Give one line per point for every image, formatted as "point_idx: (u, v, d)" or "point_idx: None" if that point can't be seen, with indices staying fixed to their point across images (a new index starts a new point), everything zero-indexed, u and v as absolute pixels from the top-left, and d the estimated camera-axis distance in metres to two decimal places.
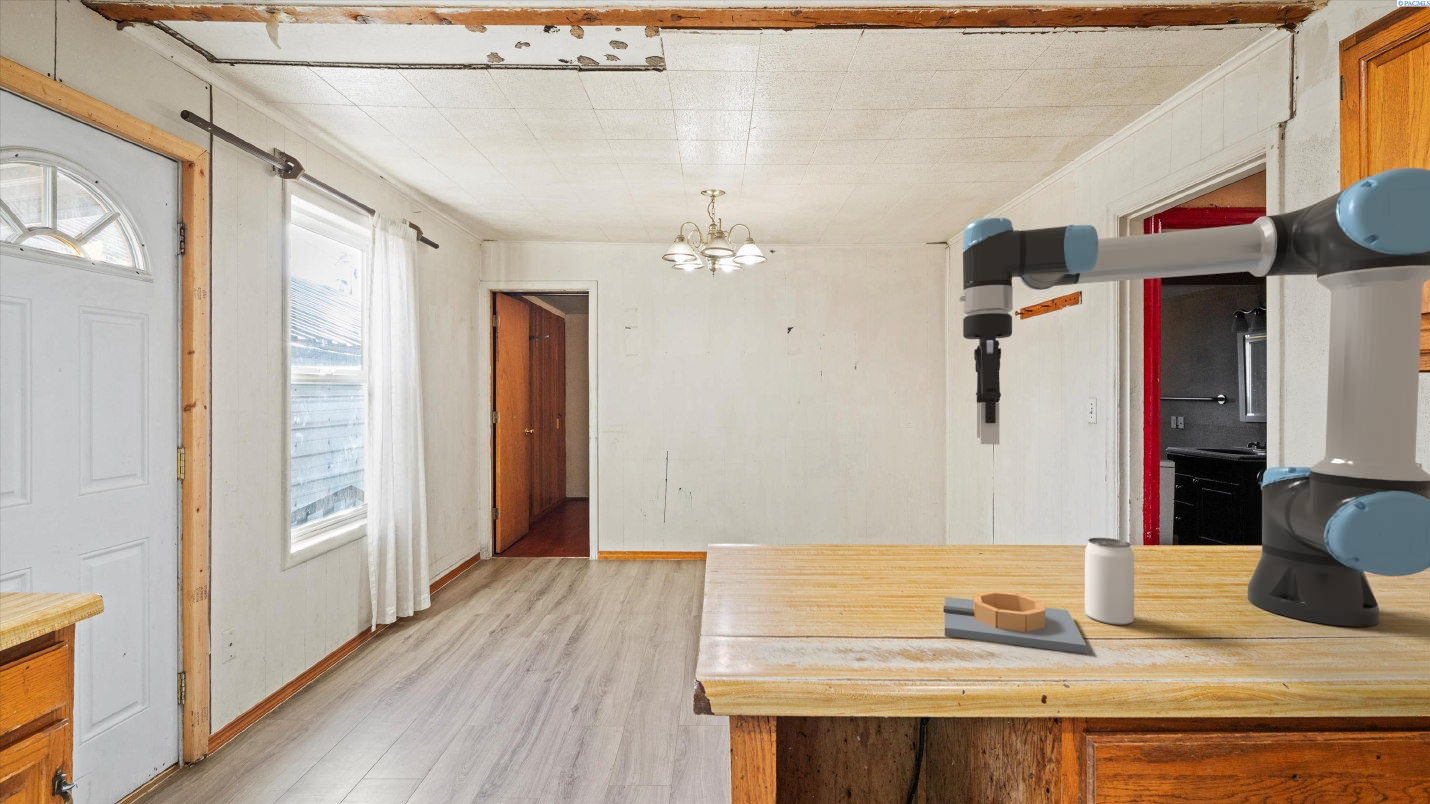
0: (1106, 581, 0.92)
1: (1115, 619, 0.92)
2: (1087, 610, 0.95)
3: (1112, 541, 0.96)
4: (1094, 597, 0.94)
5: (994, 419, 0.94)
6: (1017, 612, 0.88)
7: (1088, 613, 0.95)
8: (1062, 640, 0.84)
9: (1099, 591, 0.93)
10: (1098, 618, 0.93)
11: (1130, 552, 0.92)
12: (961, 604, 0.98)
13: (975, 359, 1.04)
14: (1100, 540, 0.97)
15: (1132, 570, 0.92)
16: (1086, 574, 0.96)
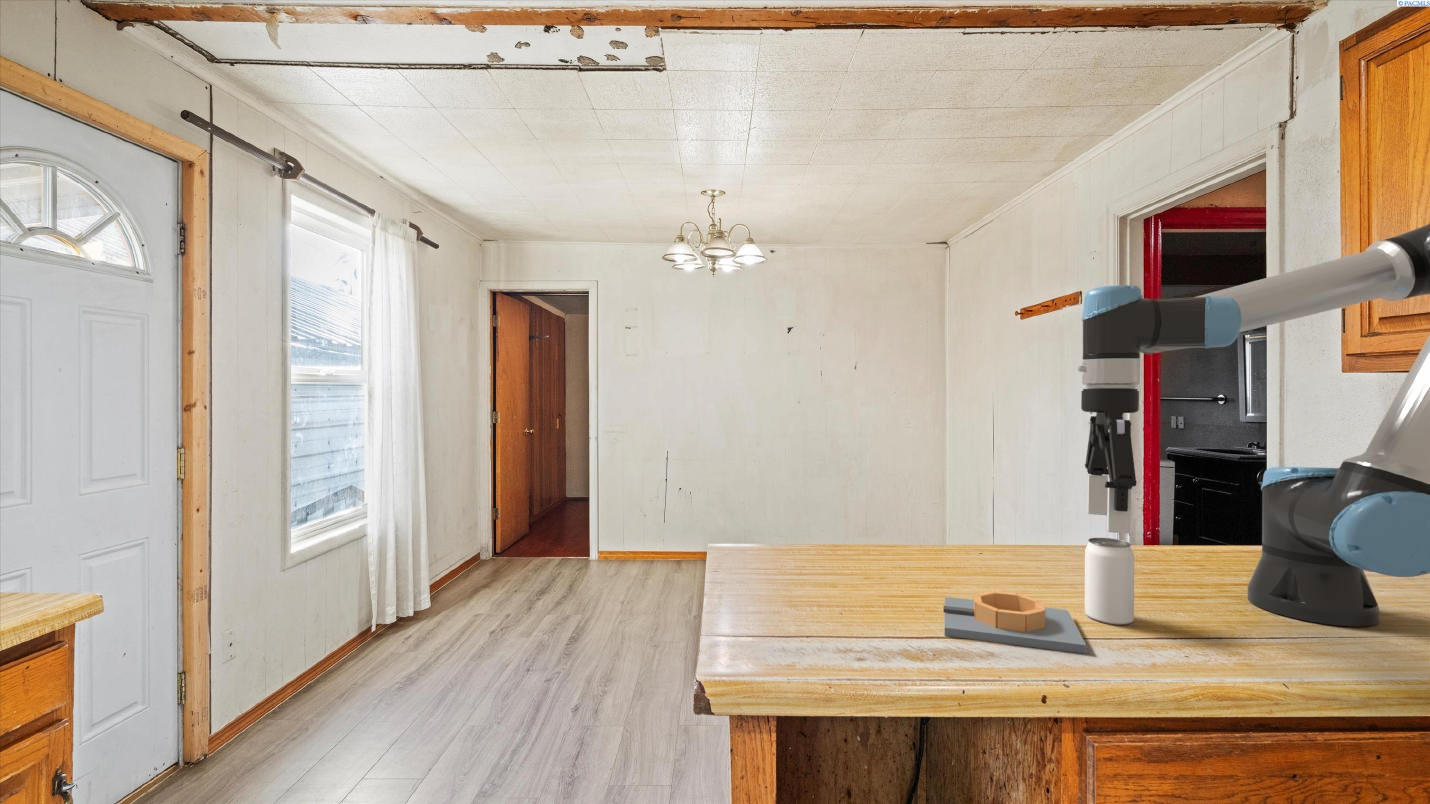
0: (1106, 581, 0.92)
1: (1115, 619, 0.92)
2: (1087, 610, 0.95)
3: (1112, 541, 0.96)
4: (1094, 597, 0.94)
5: (1126, 507, 0.87)
6: (1017, 612, 0.88)
7: (1088, 613, 0.95)
8: (1062, 640, 0.84)
9: (1099, 591, 0.93)
10: (1098, 618, 0.93)
11: (1130, 552, 0.92)
12: (961, 604, 0.98)
13: (1093, 433, 0.96)
14: (1100, 540, 0.97)
15: (1132, 570, 0.92)
16: (1086, 574, 0.96)
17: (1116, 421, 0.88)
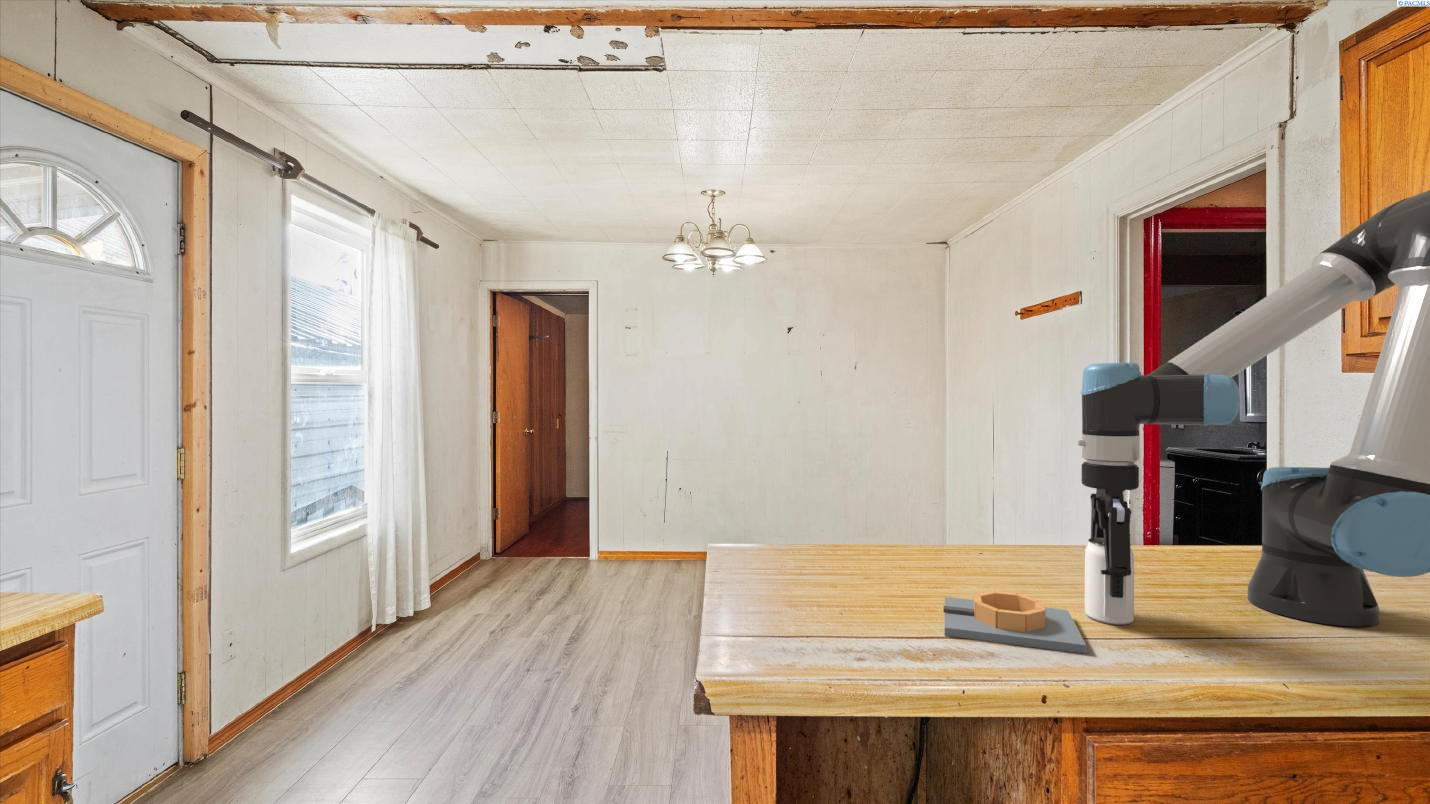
0: None
1: (1115, 619, 0.92)
2: (1087, 610, 0.95)
3: None
4: (1094, 597, 0.94)
5: (1121, 594, 0.90)
6: (1017, 612, 0.88)
7: (1088, 613, 0.95)
8: (1062, 640, 0.84)
9: (1099, 591, 0.93)
10: (1098, 618, 0.93)
11: (1130, 552, 0.92)
12: (961, 604, 0.98)
13: (1094, 507, 0.96)
14: (1100, 540, 0.97)
15: (1132, 570, 0.92)
16: (1086, 574, 0.96)
17: (1116, 510, 0.89)
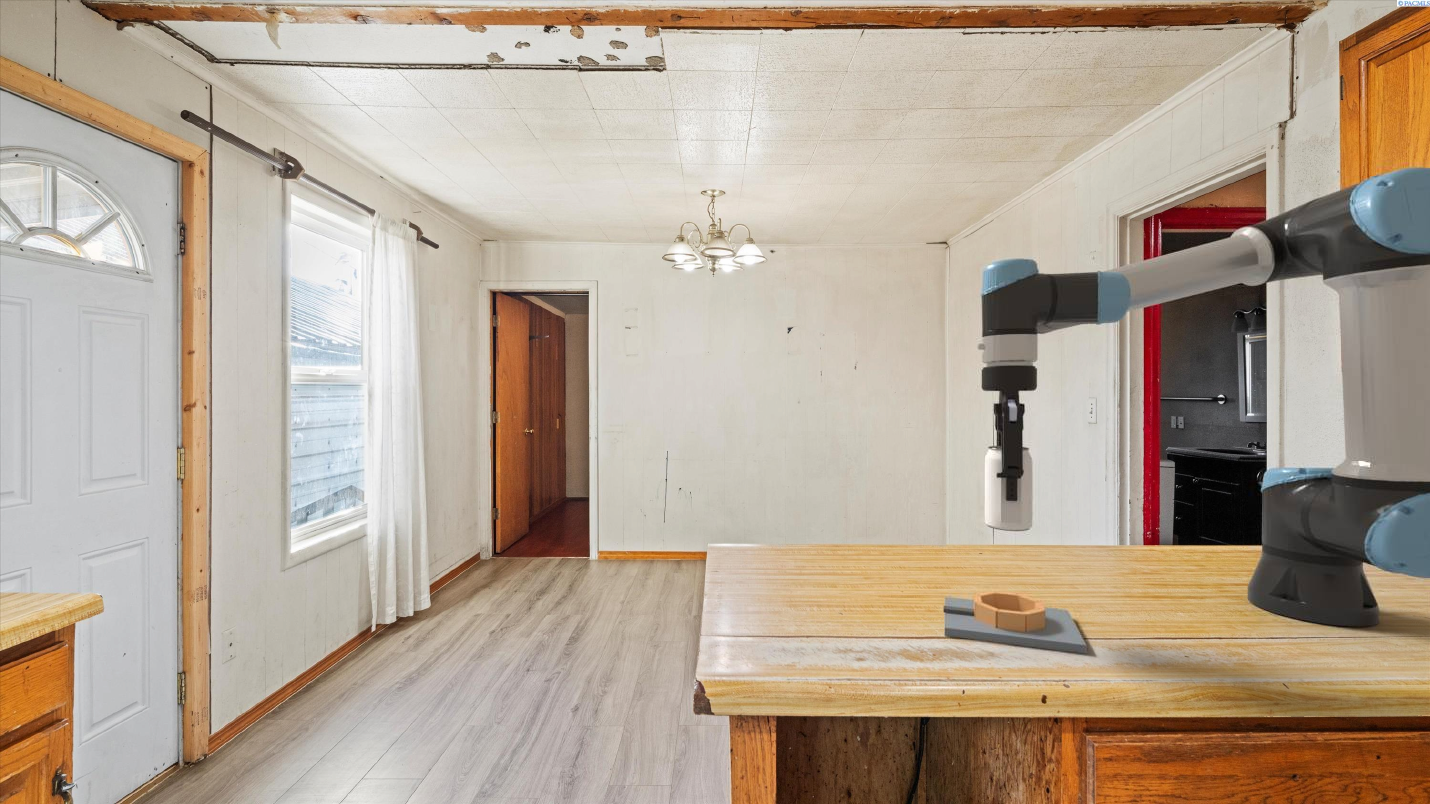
0: None
1: (1011, 525, 0.89)
2: (986, 519, 0.92)
3: None
4: (991, 504, 0.91)
5: (1016, 497, 0.87)
6: (1017, 612, 0.88)
7: (987, 522, 0.92)
8: (1062, 640, 0.84)
9: (996, 497, 0.90)
10: (995, 525, 0.90)
11: (1027, 456, 0.89)
12: (961, 604, 0.98)
13: (995, 413, 0.93)
14: None
15: (1029, 474, 0.89)
16: (985, 482, 0.92)
17: (1009, 408, 0.85)
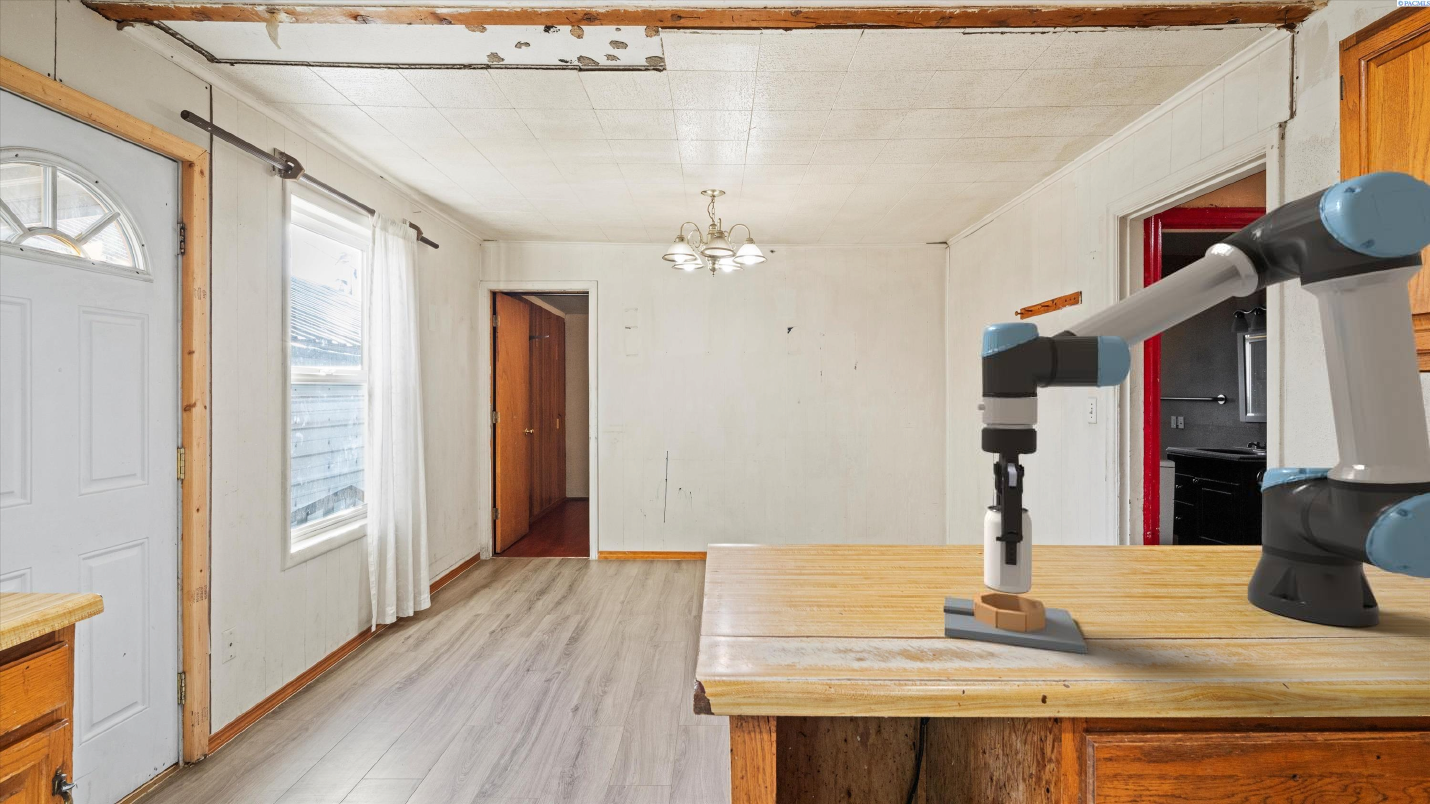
0: None
1: (1010, 588, 0.89)
2: (985, 579, 0.92)
3: None
4: (990, 565, 0.91)
5: (1015, 561, 0.87)
6: (1017, 612, 0.88)
7: (986, 582, 0.92)
8: (1062, 640, 0.84)
9: (995, 559, 0.90)
10: (994, 587, 0.90)
11: (1027, 518, 0.89)
12: (961, 604, 0.98)
13: (995, 473, 0.93)
14: None
15: (1028, 537, 0.89)
16: (984, 542, 0.92)
17: (1009, 474, 0.86)
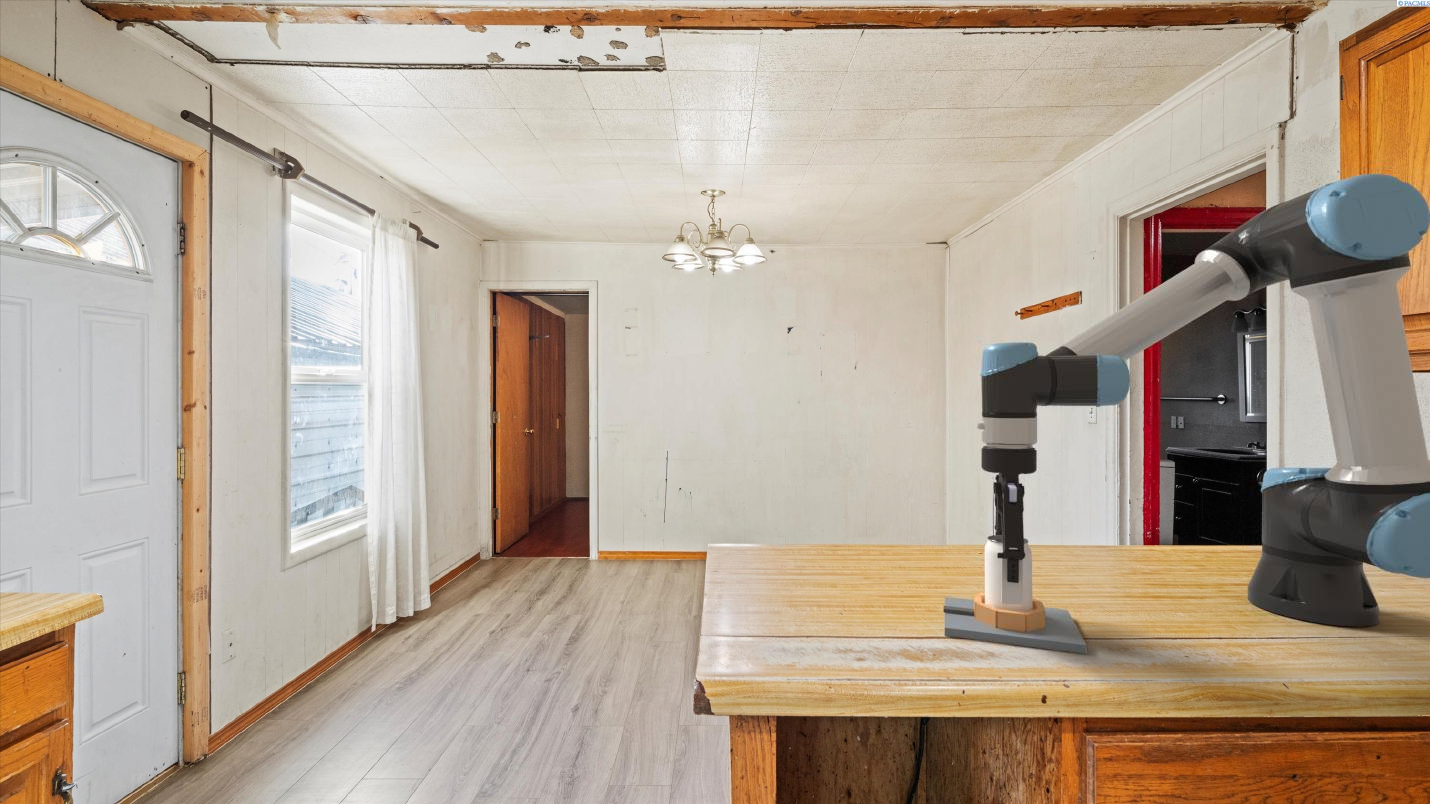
0: None
1: None
2: None
3: None
4: (991, 596, 0.91)
5: (1017, 579, 0.85)
6: (1017, 612, 0.88)
7: None
8: (1062, 640, 0.84)
9: (996, 590, 0.90)
10: None
11: (1027, 549, 0.90)
12: (961, 604, 0.98)
13: (995, 492, 0.93)
14: (1001, 537, 0.94)
15: (1029, 568, 0.89)
16: (985, 572, 0.93)
17: (1009, 489, 0.86)
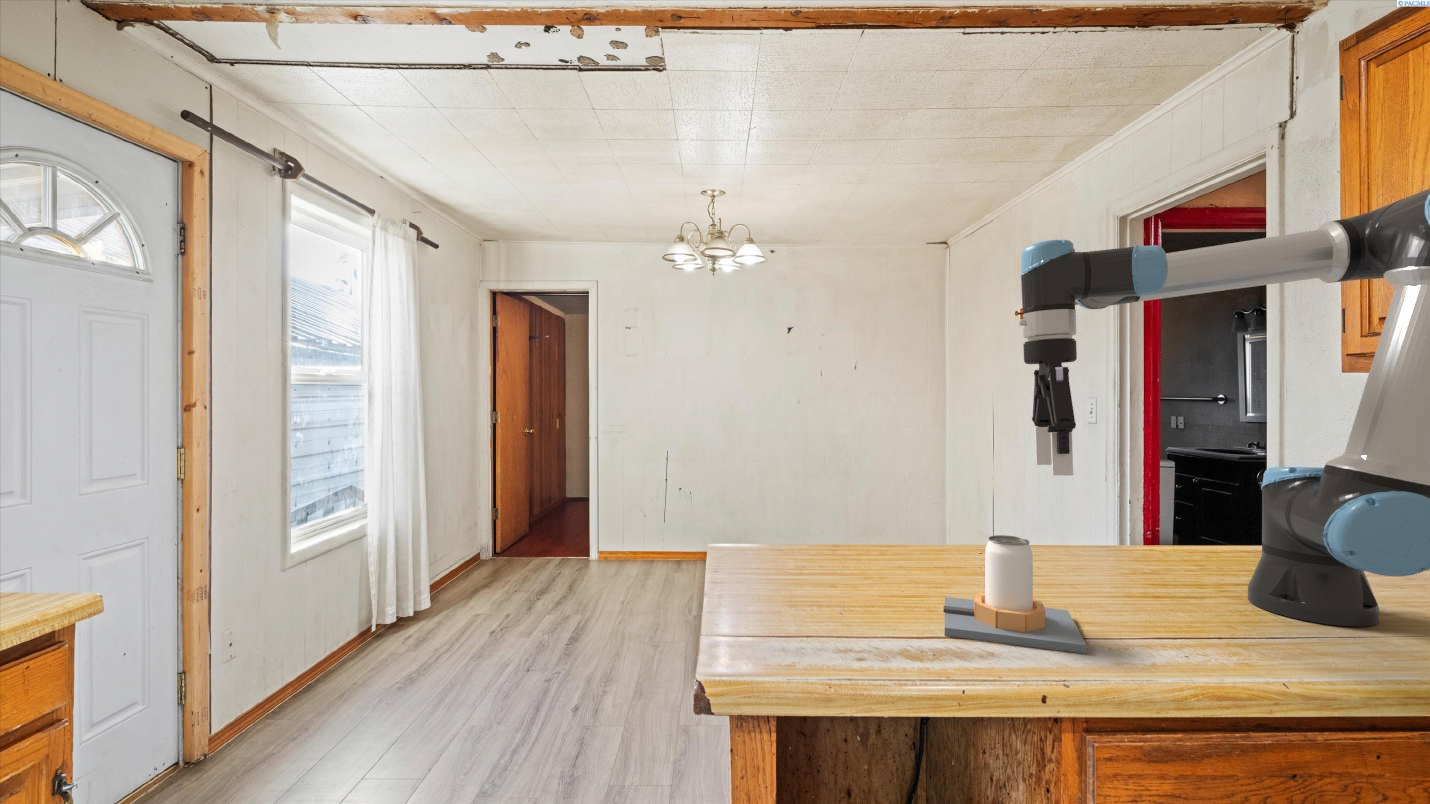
0: (1002, 580, 0.89)
1: None
2: None
3: (1013, 539, 0.93)
4: (992, 597, 0.91)
5: (1068, 449, 0.90)
6: (1017, 612, 0.88)
7: None
8: (1062, 640, 0.84)
9: (997, 590, 0.90)
10: None
11: (1028, 550, 0.89)
12: (961, 604, 0.98)
13: (1036, 385, 1.00)
14: (1001, 538, 0.94)
15: (1029, 569, 0.89)
16: (985, 573, 0.93)
17: (1055, 368, 0.92)
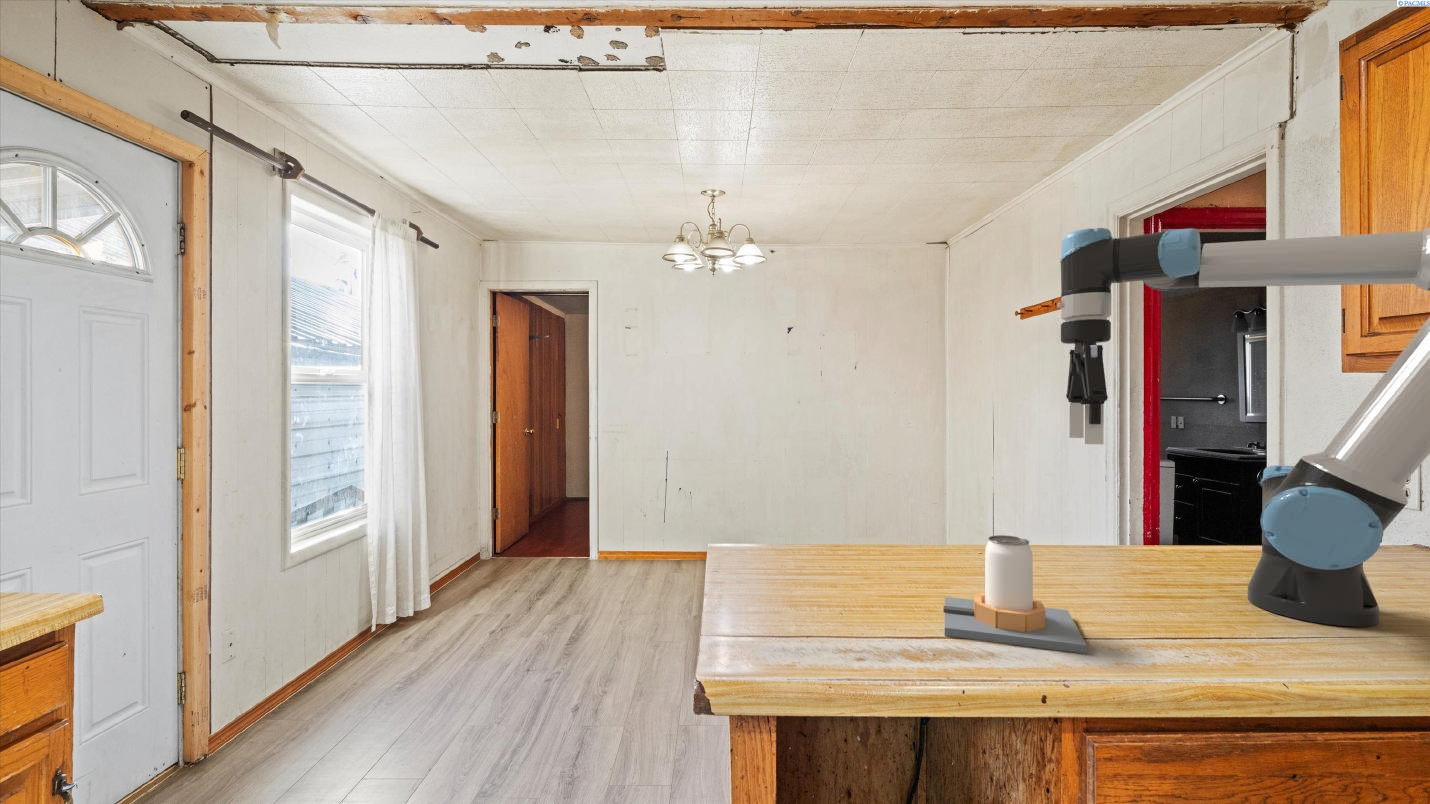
0: (1002, 580, 0.89)
1: None
2: None
3: (1013, 539, 0.93)
4: (992, 597, 0.91)
5: (1099, 420, 0.99)
6: (1017, 612, 0.88)
7: None
8: (1062, 640, 0.84)
9: (997, 590, 0.90)
10: None
11: (1027, 550, 0.89)
12: (961, 604, 0.98)
13: (1072, 363, 1.09)
14: (1001, 538, 0.94)
15: (1029, 569, 0.89)
16: (985, 573, 0.93)
17: (1090, 346, 1.01)
